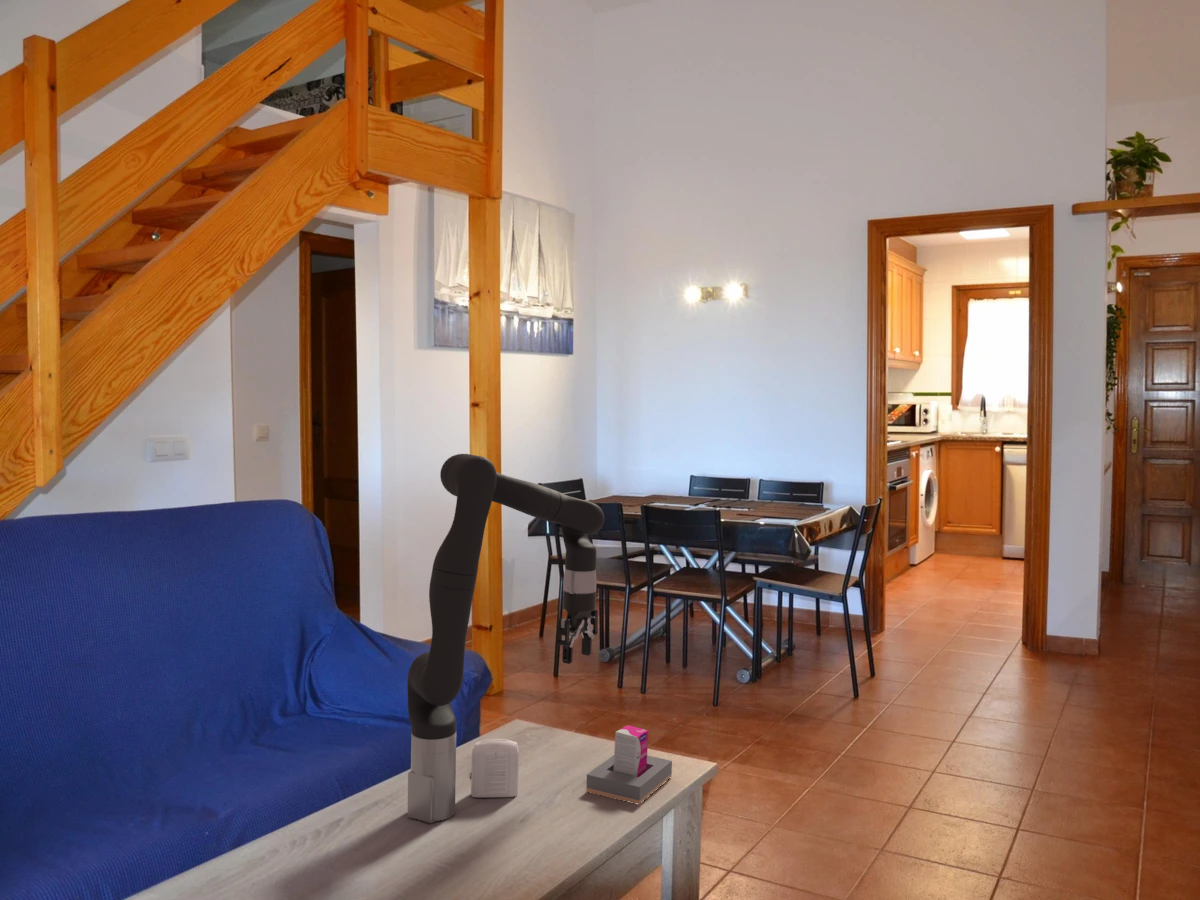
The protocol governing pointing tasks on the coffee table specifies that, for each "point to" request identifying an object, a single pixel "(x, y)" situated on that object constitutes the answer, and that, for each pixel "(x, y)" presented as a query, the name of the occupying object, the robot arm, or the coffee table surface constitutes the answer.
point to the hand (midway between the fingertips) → (576, 658)
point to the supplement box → (631, 751)
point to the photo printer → (495, 768)
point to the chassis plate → (628, 780)
